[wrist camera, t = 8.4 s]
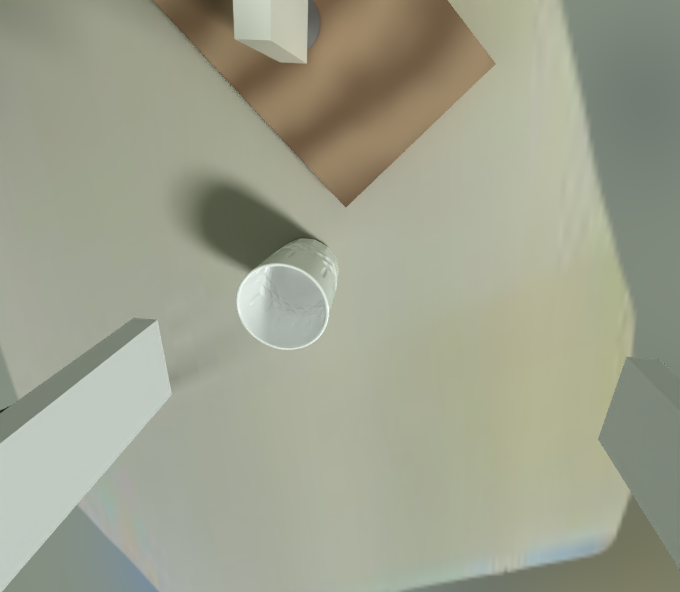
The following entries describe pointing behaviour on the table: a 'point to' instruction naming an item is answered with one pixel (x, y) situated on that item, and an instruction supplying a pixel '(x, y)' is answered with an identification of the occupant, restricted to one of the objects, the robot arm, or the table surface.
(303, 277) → the white cup
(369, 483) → the table surface
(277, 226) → the table surface
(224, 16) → the wooden cutting board
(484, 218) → the table surface
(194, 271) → the table surface
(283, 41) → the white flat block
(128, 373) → the robot arm
